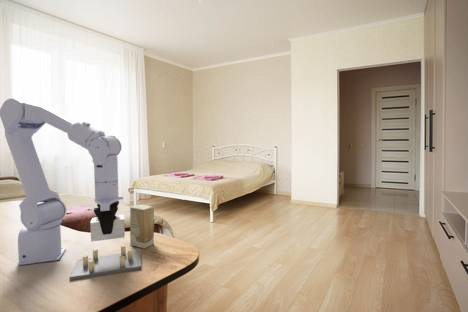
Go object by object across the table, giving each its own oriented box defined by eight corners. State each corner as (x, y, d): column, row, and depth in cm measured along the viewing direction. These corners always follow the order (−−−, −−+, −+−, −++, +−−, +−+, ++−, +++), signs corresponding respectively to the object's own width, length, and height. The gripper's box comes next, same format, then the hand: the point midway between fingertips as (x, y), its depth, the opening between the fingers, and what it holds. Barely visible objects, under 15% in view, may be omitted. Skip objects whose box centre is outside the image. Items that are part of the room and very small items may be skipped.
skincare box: (129, 245, 85) (128, 206, 85) (140, 240, 89) (139, 203, 88) (144, 249, 82) (143, 209, 82) (155, 244, 86) (154, 206, 85)
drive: (91, 241, 70) (90, 222, 70) (93, 235, 74) (92, 217, 74) (124, 237, 73) (123, 218, 73) (124, 232, 77) (124, 214, 77)
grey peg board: (69, 280, 64) (69, 266, 64) (77, 262, 73) (77, 250, 73) (141, 269, 70) (140, 256, 69) (140, 253, 79) (140, 242, 79)
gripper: (121, 184, 67) (123, 237, 68) (123, 176, 81) (124, 221, 82) (89, 186, 65) (91, 241, 66) (96, 178, 78) (98, 224, 79)
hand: (108, 230), depth 73 cm, fingers closed on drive, 4 cm apart
